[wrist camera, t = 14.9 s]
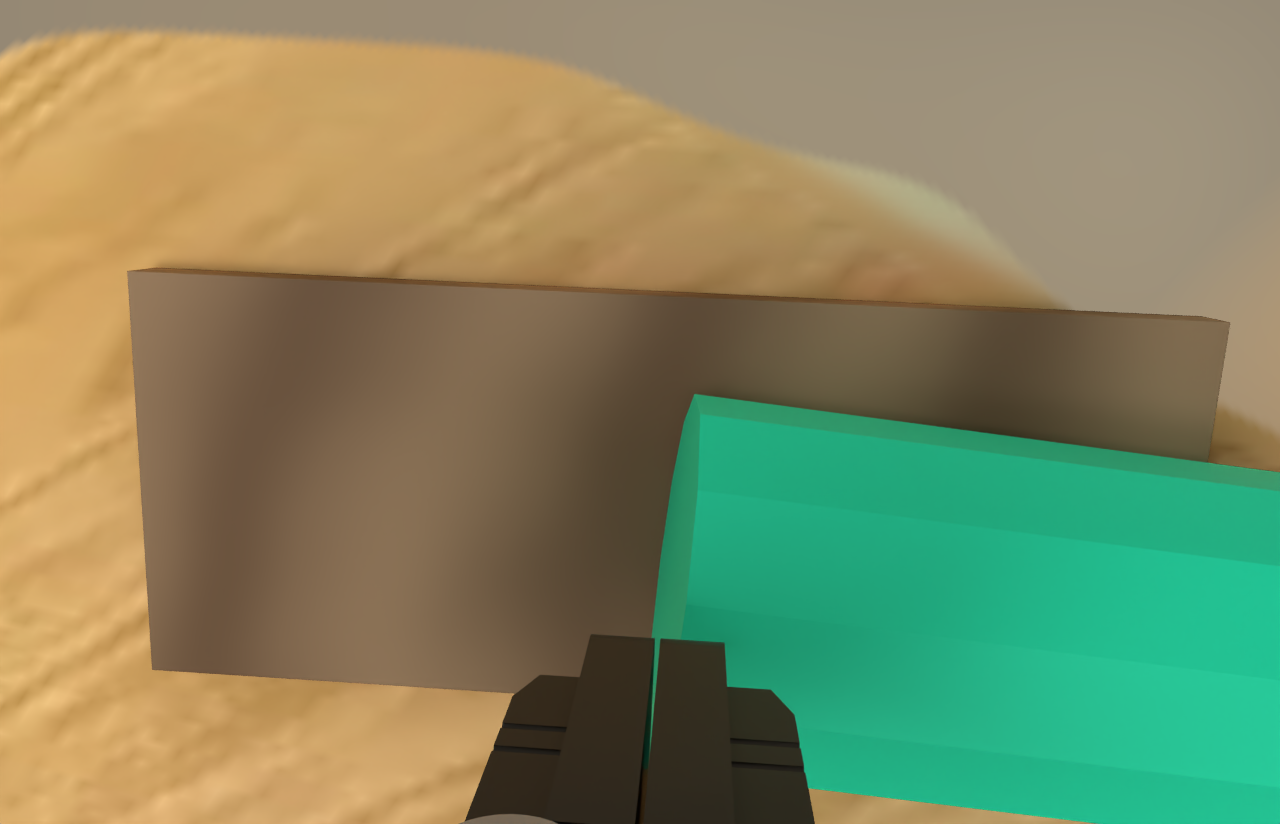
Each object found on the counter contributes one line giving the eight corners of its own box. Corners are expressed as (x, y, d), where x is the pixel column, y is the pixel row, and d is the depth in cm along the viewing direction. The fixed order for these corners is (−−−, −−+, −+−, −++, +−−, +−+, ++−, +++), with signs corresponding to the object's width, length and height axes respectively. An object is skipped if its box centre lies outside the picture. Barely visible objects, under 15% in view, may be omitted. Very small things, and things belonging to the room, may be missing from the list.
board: (1202, 315, 19) (1230, 322, 18) (1140, 709, 20) (1163, 736, 19) (155, 267, 20) (127, 271, 19) (177, 648, 21) (152, 669, 20)
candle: (681, 709, 12) (1644, 828, 12) (710, 317, 15) (1471, 421, 16) (635, 811, 17) (1320, 894, 17) (664, 500, 20) (1240, 575, 21)
